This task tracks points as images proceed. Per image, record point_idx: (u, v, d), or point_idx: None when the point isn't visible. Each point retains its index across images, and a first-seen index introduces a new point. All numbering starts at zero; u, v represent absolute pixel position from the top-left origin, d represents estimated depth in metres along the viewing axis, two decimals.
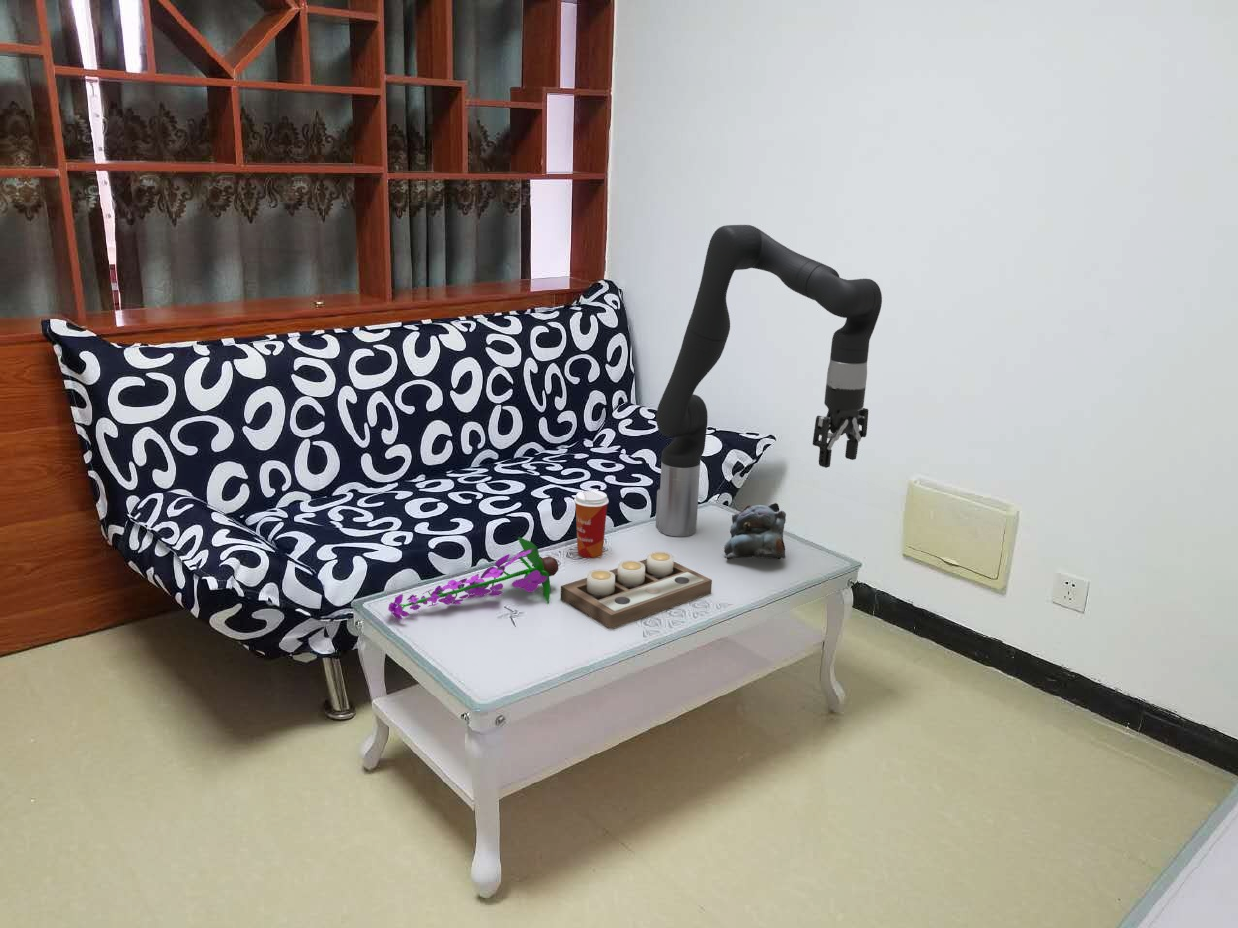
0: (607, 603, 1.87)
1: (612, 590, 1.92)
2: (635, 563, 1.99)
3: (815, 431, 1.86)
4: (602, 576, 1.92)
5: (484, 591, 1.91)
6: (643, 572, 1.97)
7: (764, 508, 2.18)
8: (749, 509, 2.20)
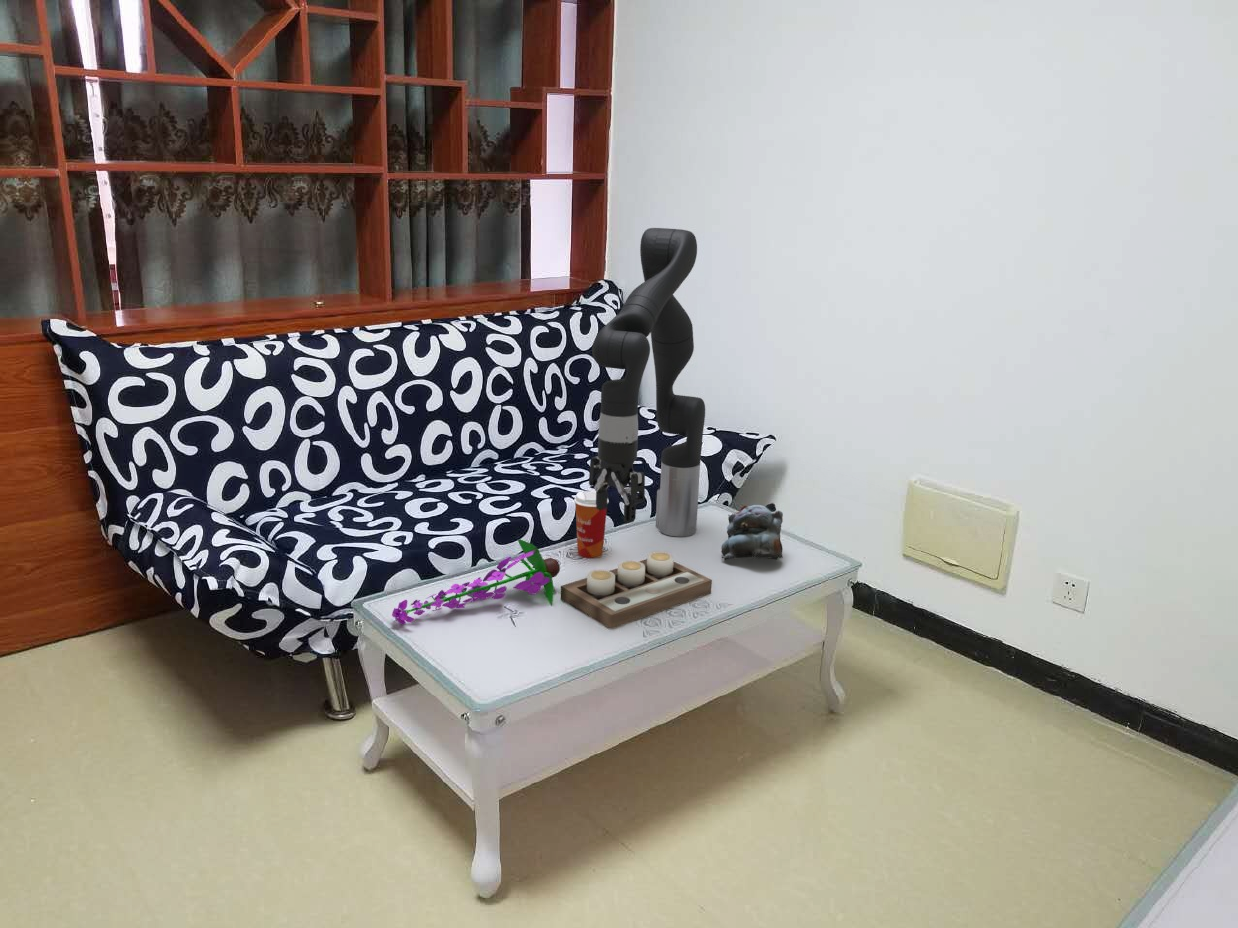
0: (607, 603, 1.87)
1: (612, 590, 1.92)
2: (635, 563, 1.99)
3: (636, 490, 1.81)
4: (602, 576, 1.92)
5: (487, 594, 1.90)
6: (643, 572, 1.97)
7: (761, 508, 2.18)
8: (746, 509, 2.19)
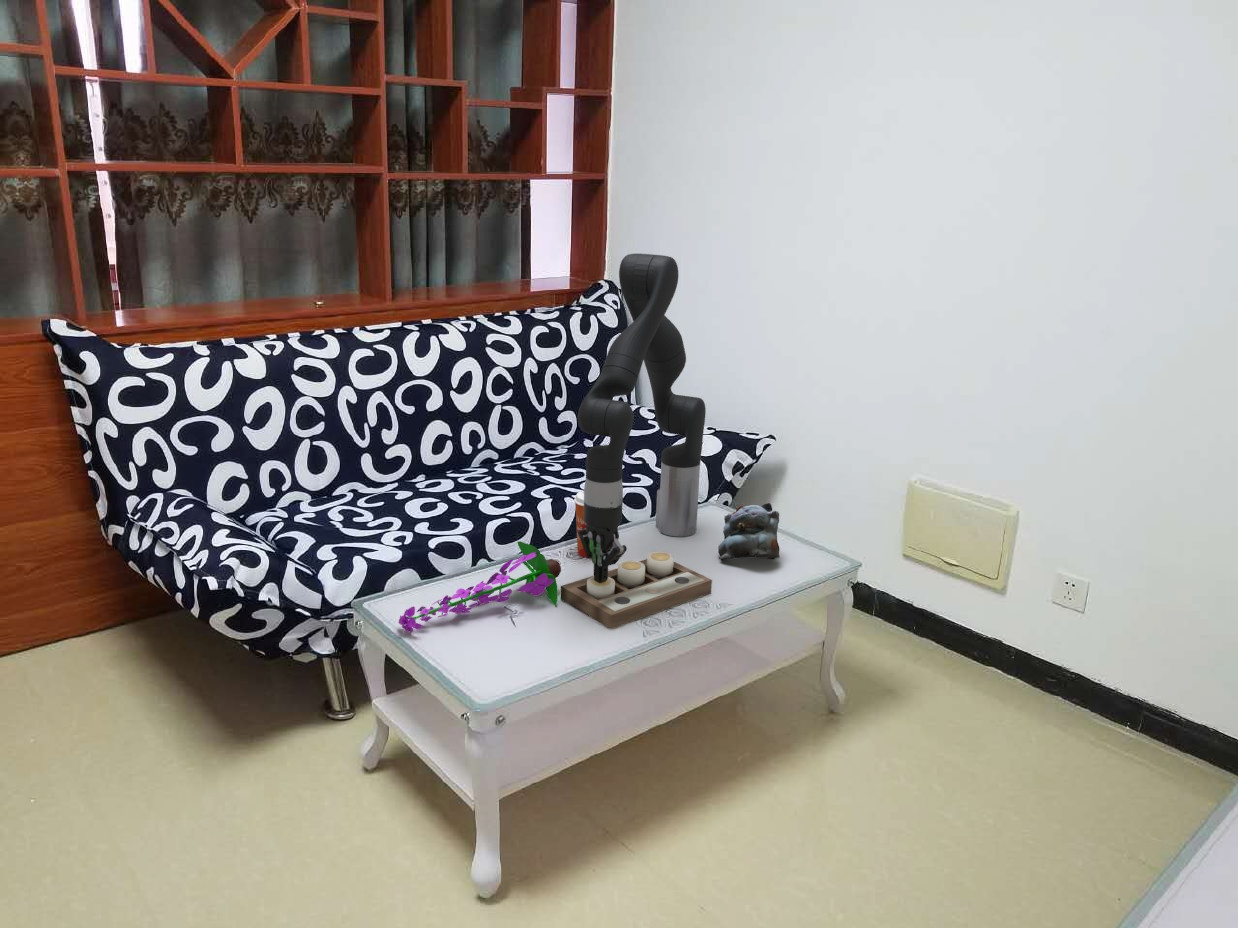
0: (607, 603, 1.87)
1: None
2: (635, 563, 1.99)
3: (612, 559, 1.87)
4: None
5: (492, 598, 1.88)
6: (643, 572, 1.97)
7: (757, 508, 2.18)
8: (742, 509, 2.19)
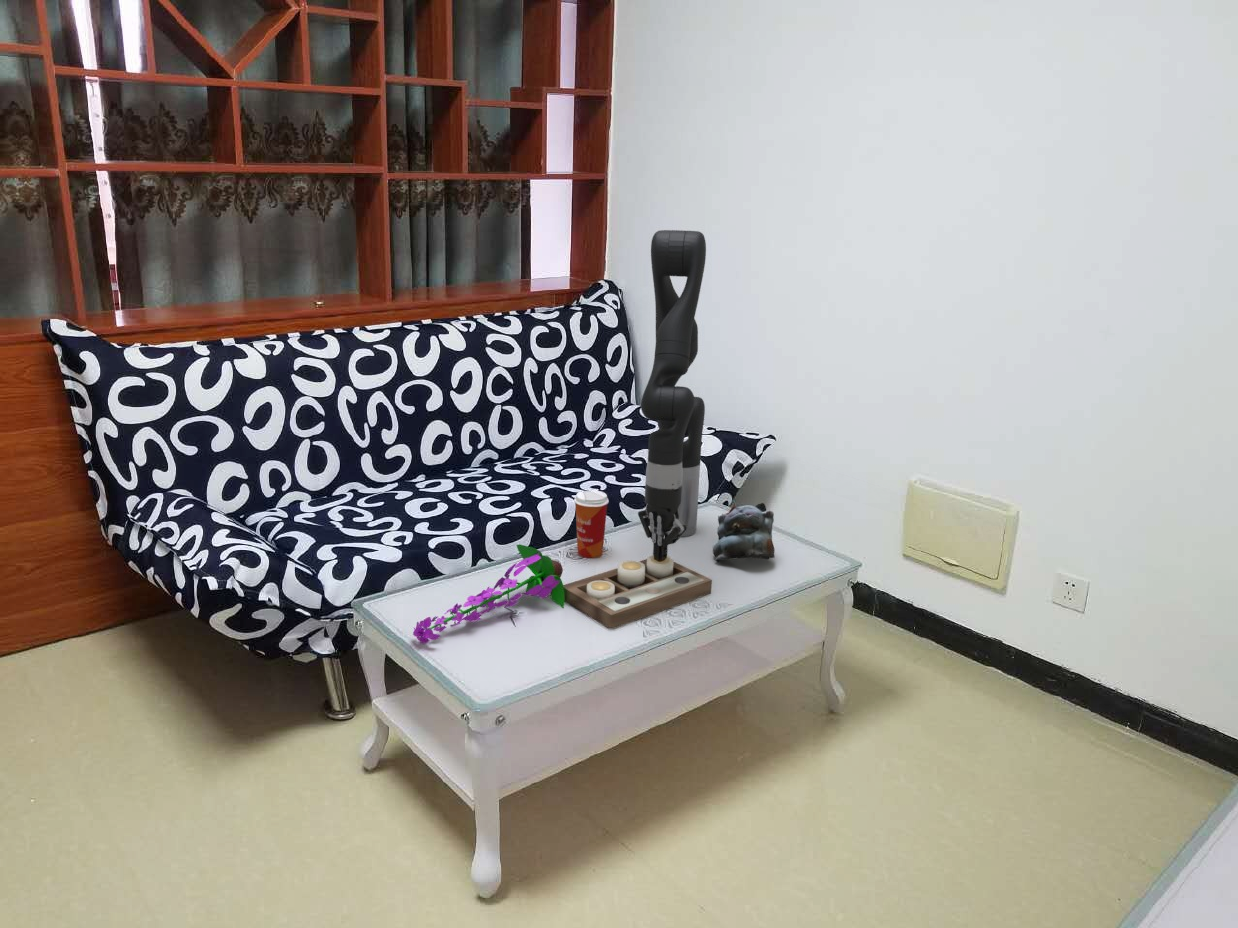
0: (607, 603, 1.87)
1: None
2: (635, 563, 1.99)
3: (673, 538, 1.97)
4: (601, 586, 1.93)
5: (501, 603, 1.86)
6: (643, 572, 1.97)
7: (751, 508, 2.18)
8: (736, 510, 2.19)
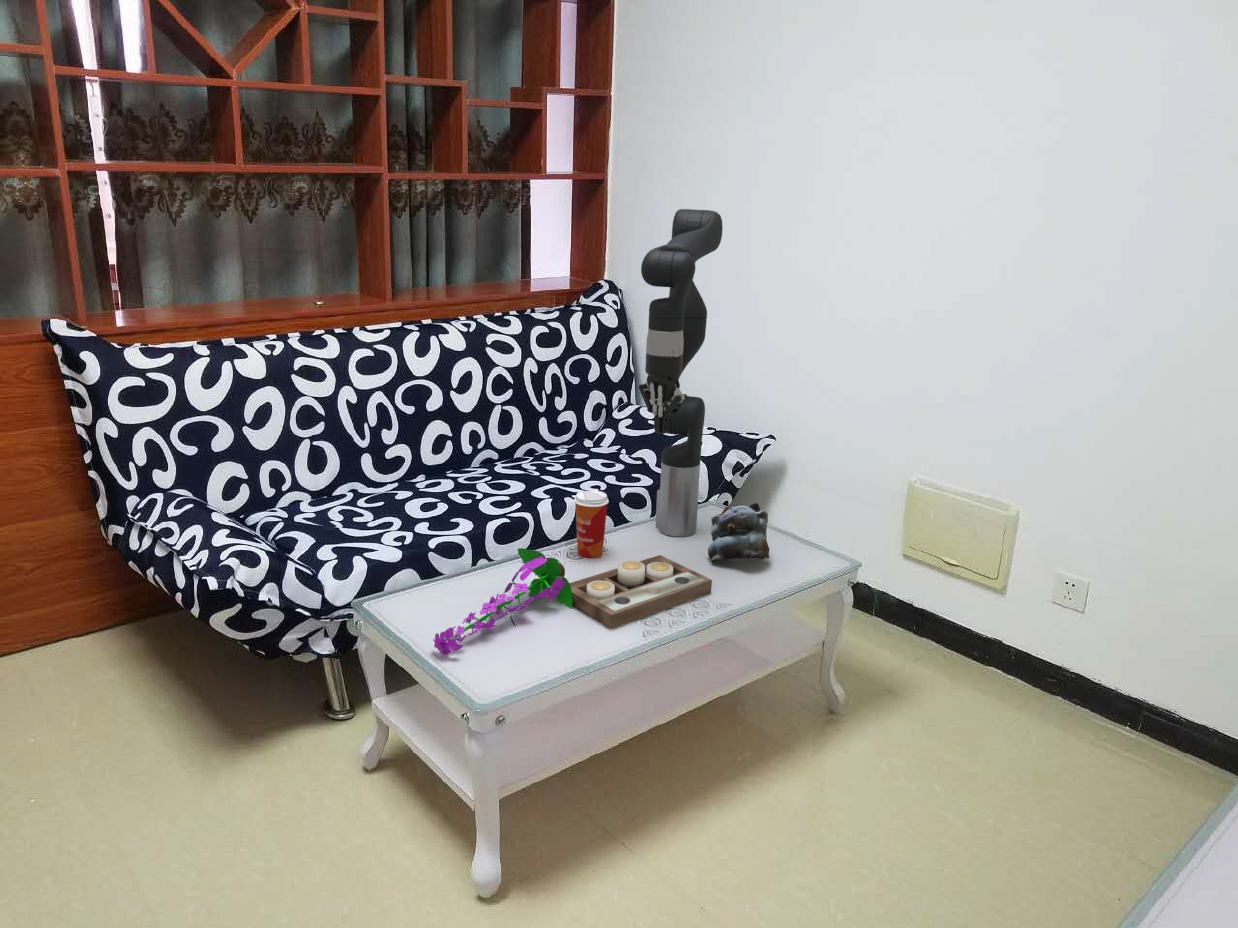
0: (607, 603, 1.87)
1: None
2: (635, 563, 1.99)
3: (673, 408, 1.96)
4: (601, 586, 1.93)
5: (514, 608, 1.84)
6: (643, 572, 1.97)
7: (746, 509, 2.17)
8: (730, 510, 2.18)
